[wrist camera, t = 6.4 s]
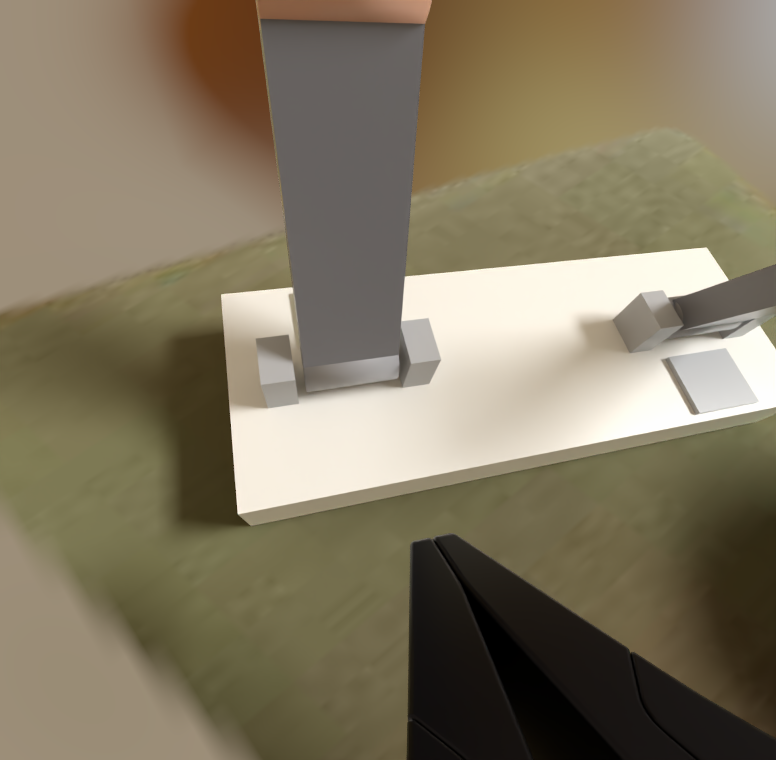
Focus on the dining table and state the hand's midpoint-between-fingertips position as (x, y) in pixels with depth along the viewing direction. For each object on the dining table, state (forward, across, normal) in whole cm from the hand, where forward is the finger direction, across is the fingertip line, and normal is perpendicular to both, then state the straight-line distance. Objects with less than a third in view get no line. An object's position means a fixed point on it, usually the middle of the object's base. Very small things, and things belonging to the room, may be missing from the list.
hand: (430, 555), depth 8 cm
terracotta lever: (+7, 0, -2) cm, 8 cm away
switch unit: (+10, -7, +1) cm, 12 cm away
